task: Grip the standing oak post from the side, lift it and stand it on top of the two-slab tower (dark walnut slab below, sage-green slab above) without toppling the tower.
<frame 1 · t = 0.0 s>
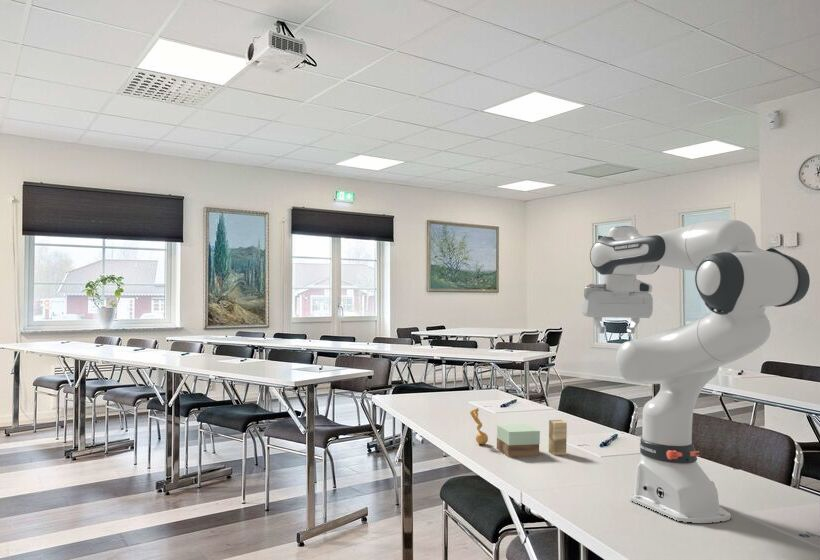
hand: (615, 333, 168), 39 cm above the table, tool pointing down, fingers open, 8 cm apart
figurine: (478, 445, 195), on the table
oak post: (557, 453, 186), on the table
tower top: (517, 440, 186), point 4 cm above the table, touching tower base
tower base: (517, 453, 186), on the table, touching tower top
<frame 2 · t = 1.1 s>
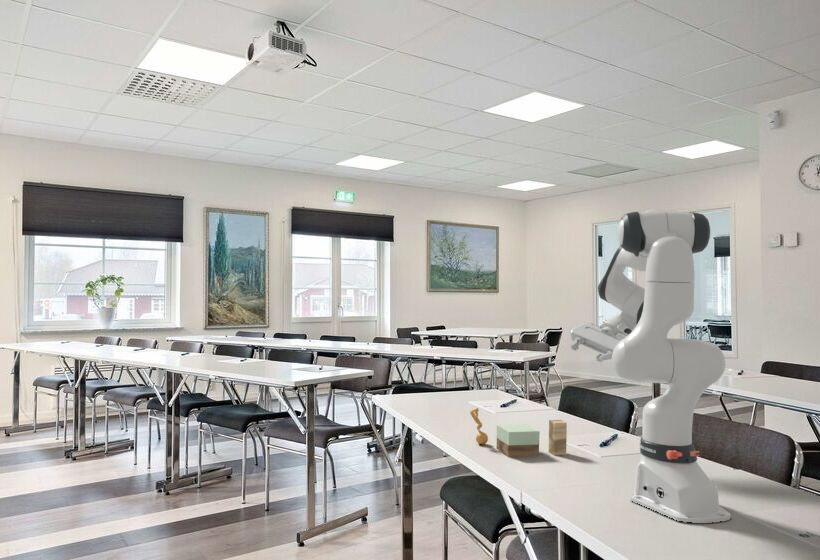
hand: (585, 353, 182), 32 cm above the table, tool tilted 65°, fingers open, 8 cm apart
nothing on the table moved.
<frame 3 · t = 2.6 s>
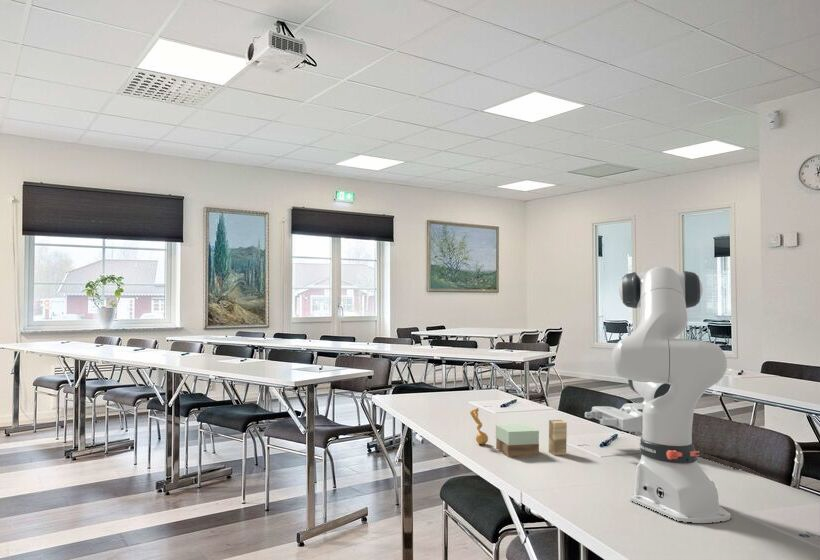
hand: (593, 418, 189), 10 cm above the table, tool horizontal, fingers open, 8 cm apart
nothing on the table moved.
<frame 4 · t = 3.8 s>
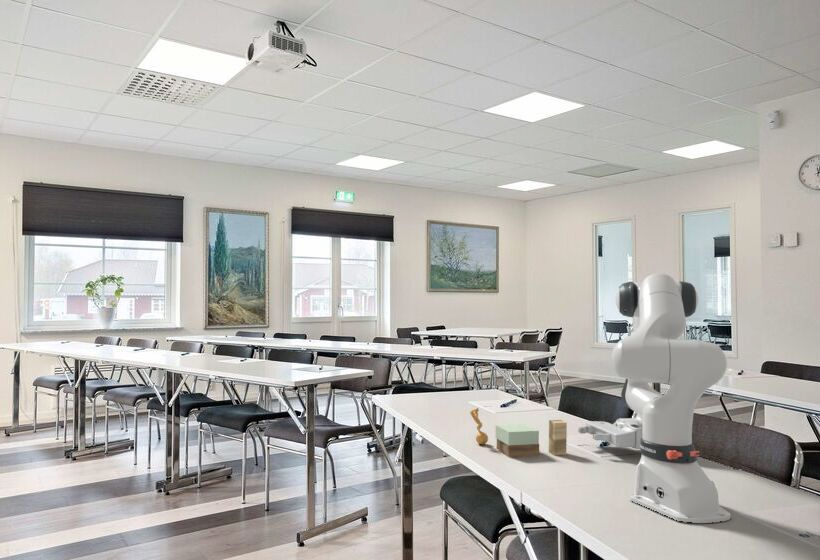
hand: (586, 433, 188), 6 cm above the table, tool horizontal, fingers open, 8 cm apart
nothing on the table moved.
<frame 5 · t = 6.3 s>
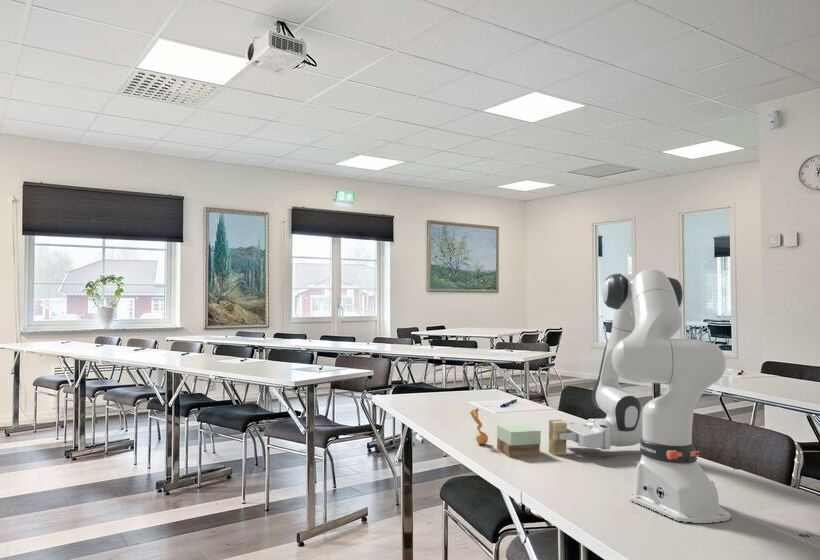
hand: (555, 434, 186), 6 cm above the table, tool horizontal, fingers closed on oak post, 4 cm apart
oak post: (557, 453, 186), on the table, touching gripper
everything else where it was.
when the fingers open (15 cm above the table, at t = 10.8 s): oak post drops 1 cm, resting on tower top.
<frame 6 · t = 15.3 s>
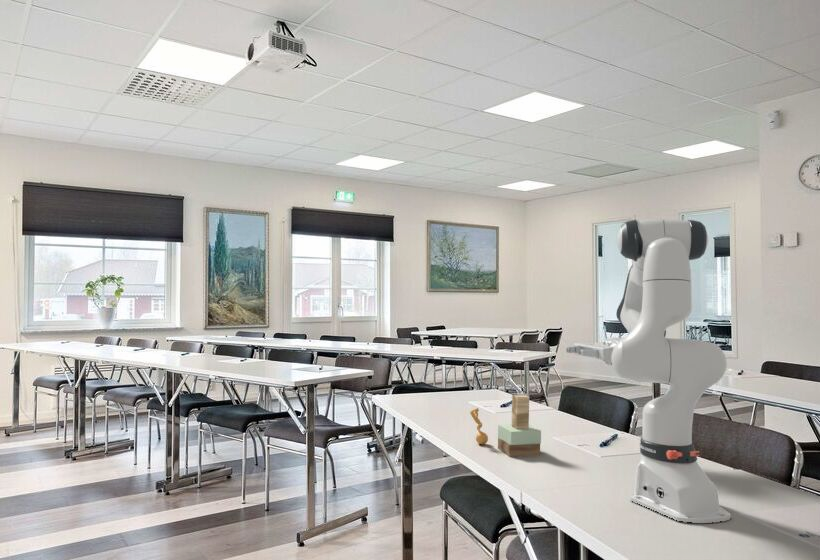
hand: (573, 351, 186), 32 cm above the table, tool horizontal, fingers open, 8 cm apart
oak post: (519, 427, 187), point 8 cm above the table, touching tower top
tower top: (519, 440, 187), point 4 cm above the table, touching oak post, tower base
everything else where it was.
at the end: oak post inside the target area on the tower top (0.3 cm from its centre), point 4.1 cm above the tower top's base; oak post tilted 2°; tower top moved 0.9 cm from its start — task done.
